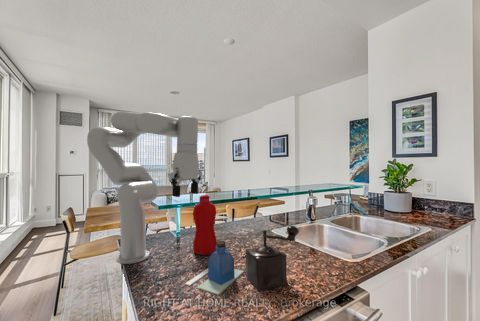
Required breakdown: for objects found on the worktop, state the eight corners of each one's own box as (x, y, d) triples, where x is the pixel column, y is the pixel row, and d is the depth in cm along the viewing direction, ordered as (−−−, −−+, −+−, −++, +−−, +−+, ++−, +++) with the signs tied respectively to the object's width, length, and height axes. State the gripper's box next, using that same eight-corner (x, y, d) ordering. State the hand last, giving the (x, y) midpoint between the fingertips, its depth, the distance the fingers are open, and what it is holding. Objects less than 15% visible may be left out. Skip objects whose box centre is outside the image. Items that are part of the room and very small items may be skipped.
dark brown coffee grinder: (259, 293, 67) (258, 232, 68) (245, 276, 78) (244, 223, 78) (302, 282, 73) (301, 226, 73) (283, 268, 83) (282, 219, 84)
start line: (185, 284, 73) (185, 283, 73) (213, 264, 87) (213, 264, 87) (189, 285, 72) (189, 285, 72) (218, 265, 86) (218, 265, 86)
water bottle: (200, 246, 107) (199, 193, 108) (219, 249, 102) (218, 194, 103) (187, 252, 99) (186, 195, 100) (207, 257, 94) (206, 197, 94)
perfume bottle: (222, 272, 80) (221, 238, 80) (234, 277, 76) (233, 241, 76) (208, 278, 76) (207, 242, 76) (220, 285, 71) (220, 247, 72)
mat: (197, 288, 71) (197, 287, 71) (224, 267, 85) (224, 266, 85) (218, 295, 67) (218, 293, 67) (243, 272, 81) (243, 270, 81)
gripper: (194, 150, 95) (193, 191, 95) (162, 148, 80) (160, 196, 80) (209, 150, 91) (207, 193, 91) (177, 148, 76) (176, 199, 76)
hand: (185, 194), depth 86 cm, fingers open, 9 cm apart
